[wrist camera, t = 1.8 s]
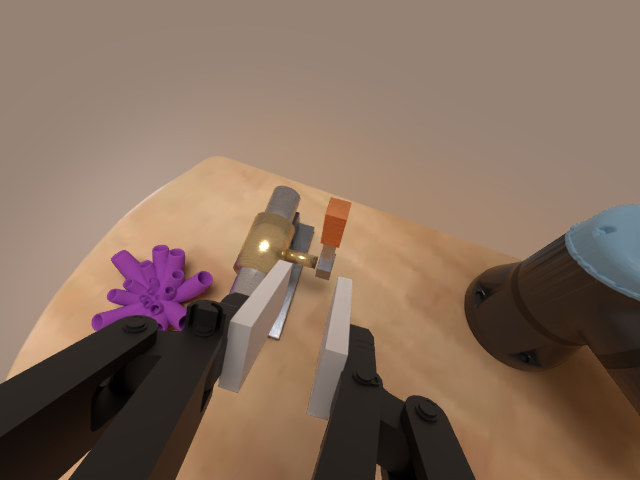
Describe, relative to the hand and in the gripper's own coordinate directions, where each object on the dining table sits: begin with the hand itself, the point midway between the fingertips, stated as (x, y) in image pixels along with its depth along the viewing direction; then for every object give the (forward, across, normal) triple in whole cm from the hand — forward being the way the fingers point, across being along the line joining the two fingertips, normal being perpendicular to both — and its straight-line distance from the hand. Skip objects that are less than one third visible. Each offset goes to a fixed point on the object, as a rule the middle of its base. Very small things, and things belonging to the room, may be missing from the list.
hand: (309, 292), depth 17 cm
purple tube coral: (+22, -20, -19) cm, 35 cm away
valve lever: (+23, 0, -7) cm, 24 cm away
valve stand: (+28, -6, -12) cm, 31 cm away
